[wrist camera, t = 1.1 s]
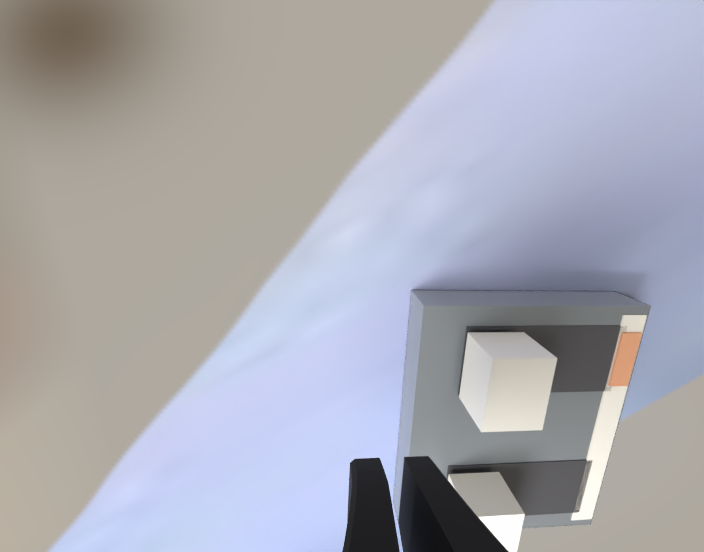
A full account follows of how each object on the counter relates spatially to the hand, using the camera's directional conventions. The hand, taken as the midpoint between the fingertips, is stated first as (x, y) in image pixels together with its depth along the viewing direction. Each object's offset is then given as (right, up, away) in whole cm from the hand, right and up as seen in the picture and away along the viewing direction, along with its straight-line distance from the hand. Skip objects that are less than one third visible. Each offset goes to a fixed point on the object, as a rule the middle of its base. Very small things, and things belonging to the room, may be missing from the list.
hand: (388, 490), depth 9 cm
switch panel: (+6, -1, +10) cm, 12 cm away
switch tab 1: (+5, +2, +6) cm, 8 cm away
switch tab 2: (+5, -5, +8) cm, 11 cm away
